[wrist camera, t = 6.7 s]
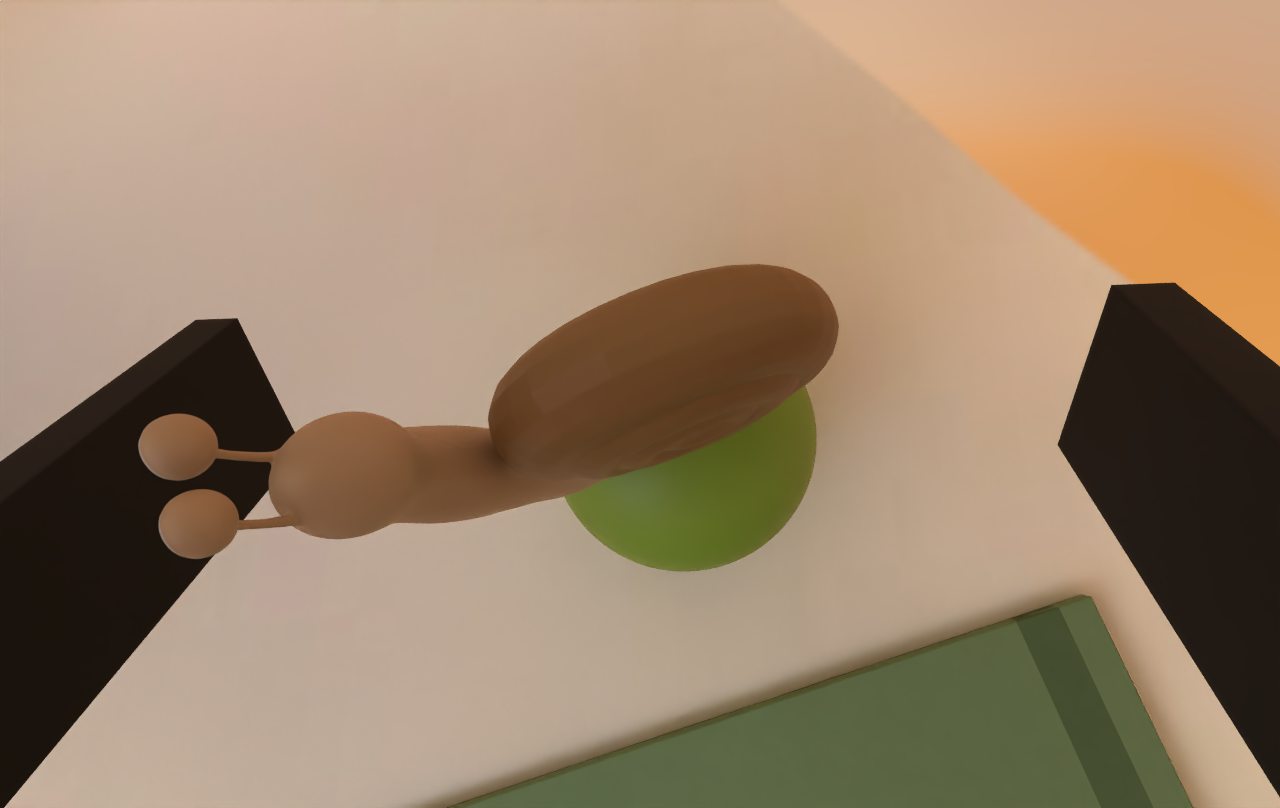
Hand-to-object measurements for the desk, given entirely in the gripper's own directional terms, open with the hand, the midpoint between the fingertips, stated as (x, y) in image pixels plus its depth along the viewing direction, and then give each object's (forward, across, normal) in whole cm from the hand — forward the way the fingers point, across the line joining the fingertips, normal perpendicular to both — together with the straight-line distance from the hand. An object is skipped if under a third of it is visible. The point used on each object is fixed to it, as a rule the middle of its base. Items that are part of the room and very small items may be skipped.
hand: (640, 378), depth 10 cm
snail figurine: (+4, 0, -5) cm, 7 cm away
